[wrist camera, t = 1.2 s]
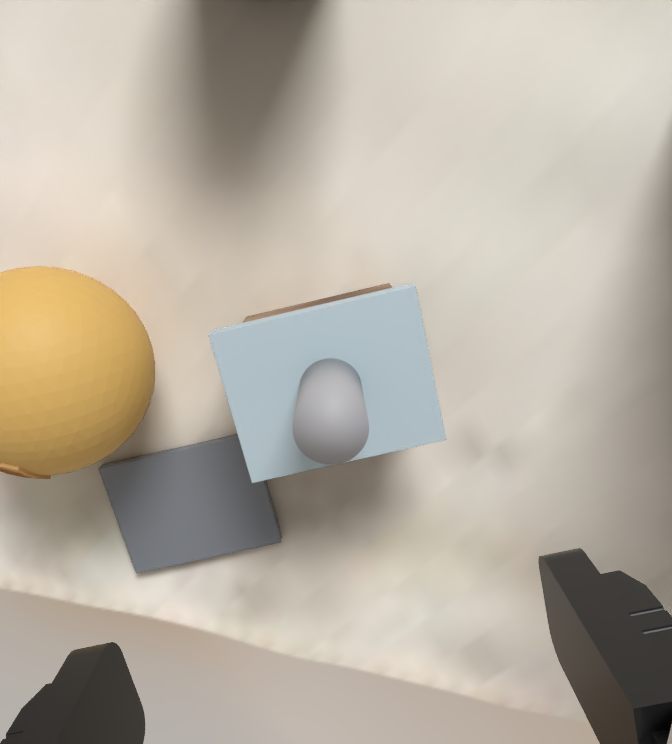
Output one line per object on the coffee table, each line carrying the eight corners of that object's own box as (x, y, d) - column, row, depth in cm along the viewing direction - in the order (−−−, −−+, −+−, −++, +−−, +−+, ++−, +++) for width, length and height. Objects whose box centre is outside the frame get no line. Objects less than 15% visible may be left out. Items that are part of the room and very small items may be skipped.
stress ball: (154, 261, 34) (-50, 195, 27) (220, 377, 28) (-20, 332, 21) (81, 393, 38) (-116, 367, 31) (125, 521, 32) (-106, 524, 25)
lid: (409, 280, 29) (436, 304, 21) (438, 423, 30) (471, 490, 23) (217, 325, 29) (181, 364, 22) (257, 464, 31) (235, 541, 24)
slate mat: (251, 431, 36) (250, 434, 35) (281, 536, 38) (280, 542, 37) (102, 464, 36) (98, 469, 36) (139, 568, 38) (136, 573, 37)
